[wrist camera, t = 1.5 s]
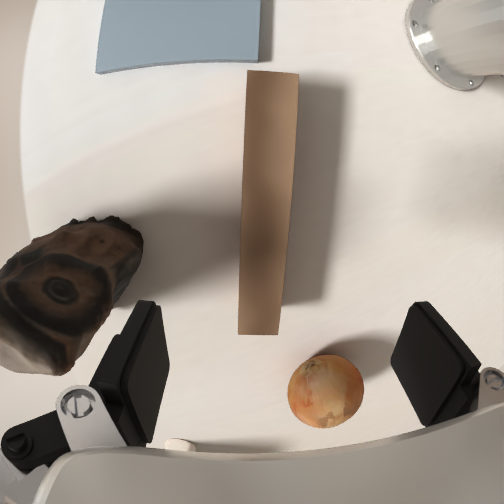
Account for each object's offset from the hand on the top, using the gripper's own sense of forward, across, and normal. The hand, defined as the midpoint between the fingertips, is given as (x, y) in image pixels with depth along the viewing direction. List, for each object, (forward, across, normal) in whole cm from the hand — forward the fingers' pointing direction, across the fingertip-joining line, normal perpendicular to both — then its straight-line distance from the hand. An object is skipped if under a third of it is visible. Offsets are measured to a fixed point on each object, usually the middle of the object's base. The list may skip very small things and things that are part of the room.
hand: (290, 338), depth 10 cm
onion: (+21, -9, +22) cm, 32 cm away
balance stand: (+20, +9, -28) cm, 36 cm away
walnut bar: (+21, 0, 0) cm, 21 cm away
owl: (+21, +19, +7) cm, 29 cm away
